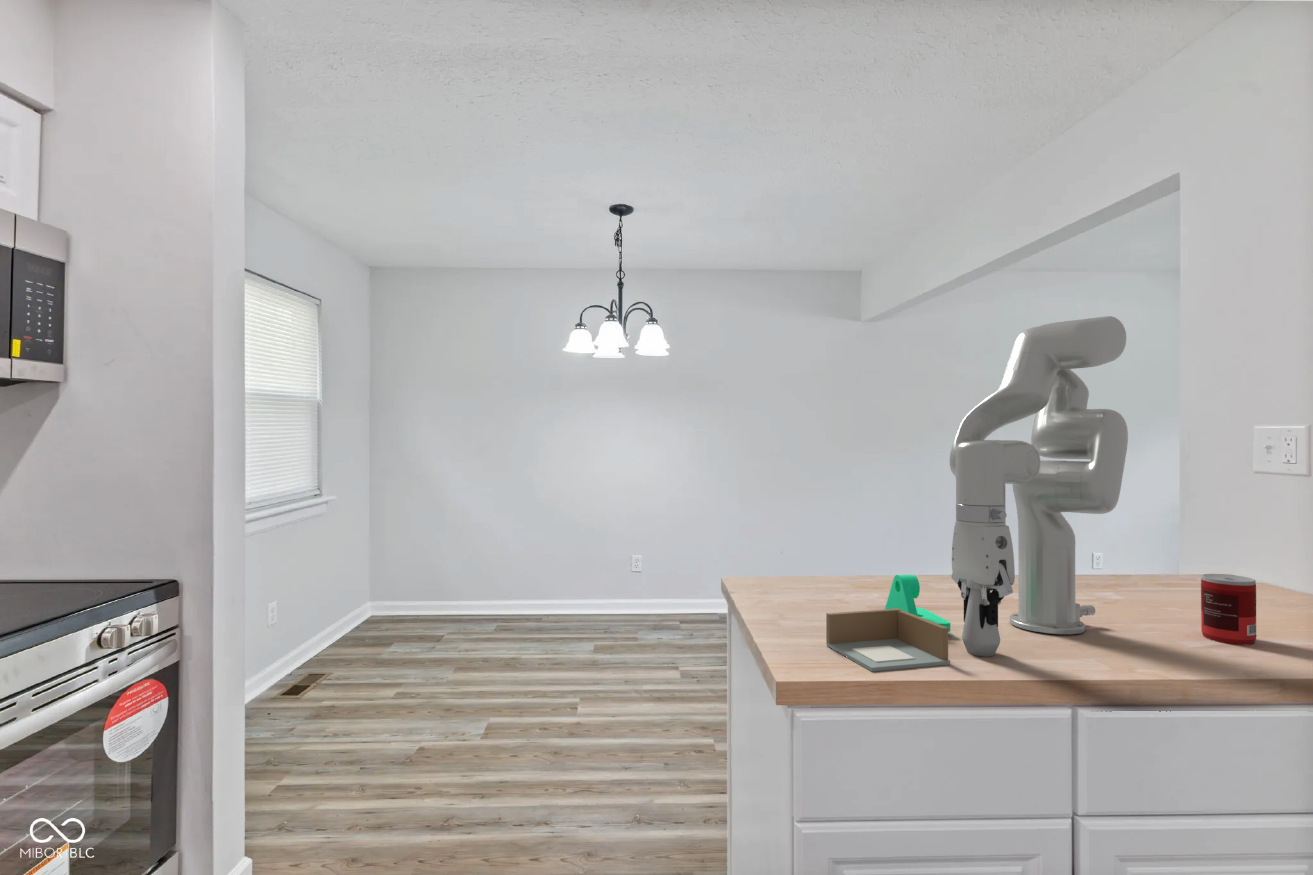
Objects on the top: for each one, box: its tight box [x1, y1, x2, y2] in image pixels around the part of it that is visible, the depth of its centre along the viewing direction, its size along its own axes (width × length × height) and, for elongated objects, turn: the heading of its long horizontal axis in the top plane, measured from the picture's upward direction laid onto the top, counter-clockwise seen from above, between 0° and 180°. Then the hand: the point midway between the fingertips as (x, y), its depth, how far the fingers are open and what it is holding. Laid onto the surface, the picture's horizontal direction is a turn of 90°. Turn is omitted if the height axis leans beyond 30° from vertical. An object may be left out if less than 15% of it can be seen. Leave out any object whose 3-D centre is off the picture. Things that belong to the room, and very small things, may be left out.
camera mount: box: [884, 574, 951, 633], centre depth 131 cm, size 12×8×10 cm, turn 4°
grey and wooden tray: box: [825, 608, 951, 672], centre depth 115 cm, size 14×14×6 cm
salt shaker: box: [961, 579, 1001, 658], centre depth 116 cm, size 6×6×13 cm
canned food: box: [1200, 573, 1257, 645], centre depth 125 cm, size 8×8×11 cm
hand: (980, 624), depth 116 cm, fingers closed on salt shaker, 3 cm apart
